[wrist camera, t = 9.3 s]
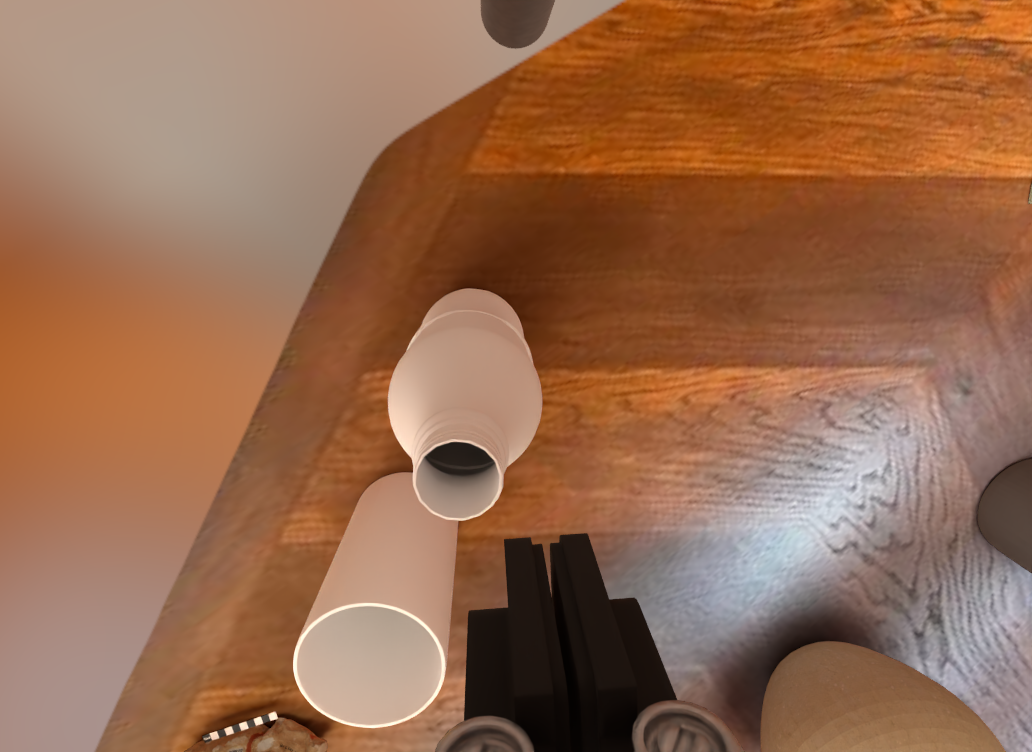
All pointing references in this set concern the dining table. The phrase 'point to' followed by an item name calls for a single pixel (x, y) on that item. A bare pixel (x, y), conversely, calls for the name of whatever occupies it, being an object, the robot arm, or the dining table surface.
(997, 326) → the dining table surface
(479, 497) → the water bottle
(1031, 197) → the scale
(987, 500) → the mug
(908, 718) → the vase
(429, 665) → the cup
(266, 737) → the fossil
